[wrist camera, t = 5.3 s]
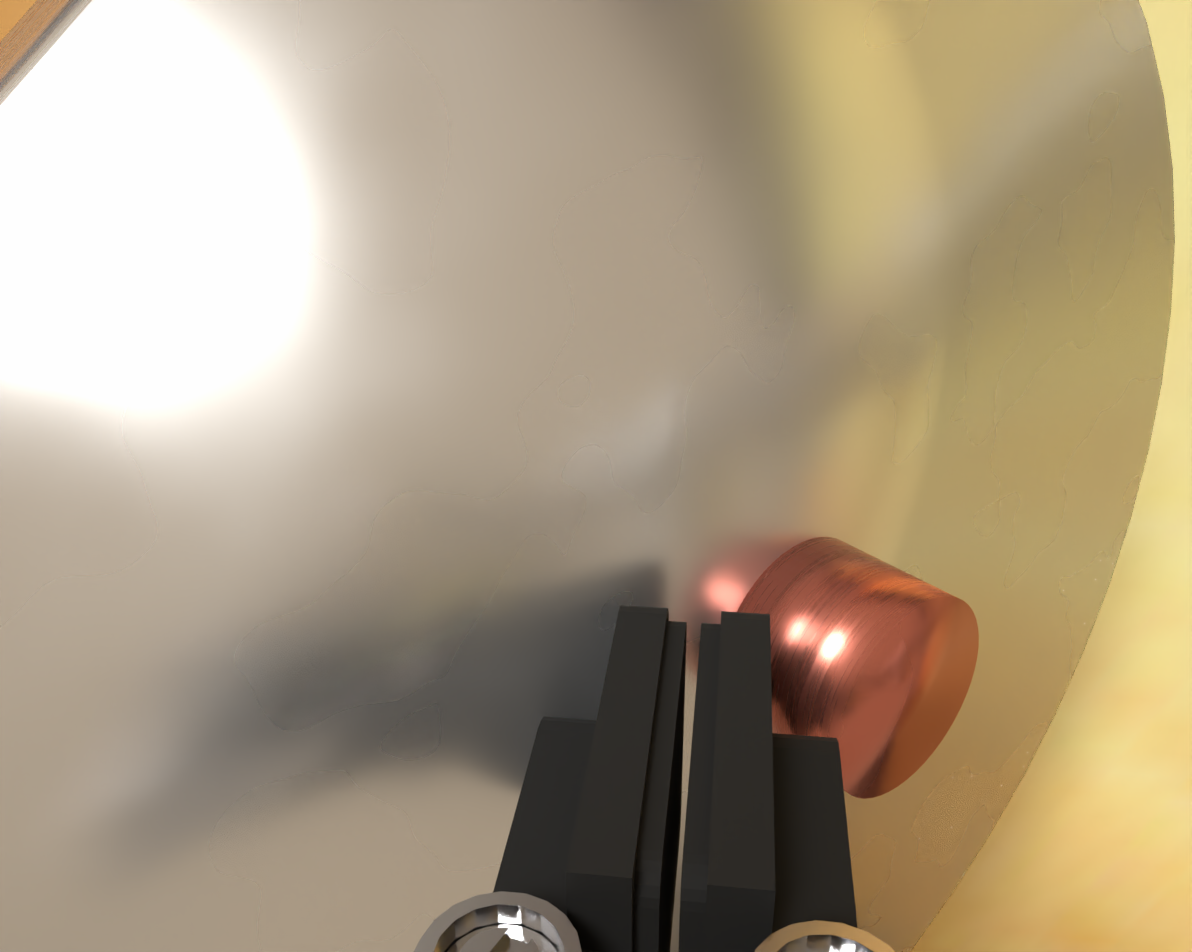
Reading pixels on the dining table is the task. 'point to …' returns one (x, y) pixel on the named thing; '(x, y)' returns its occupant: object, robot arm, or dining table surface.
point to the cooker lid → (543, 423)
